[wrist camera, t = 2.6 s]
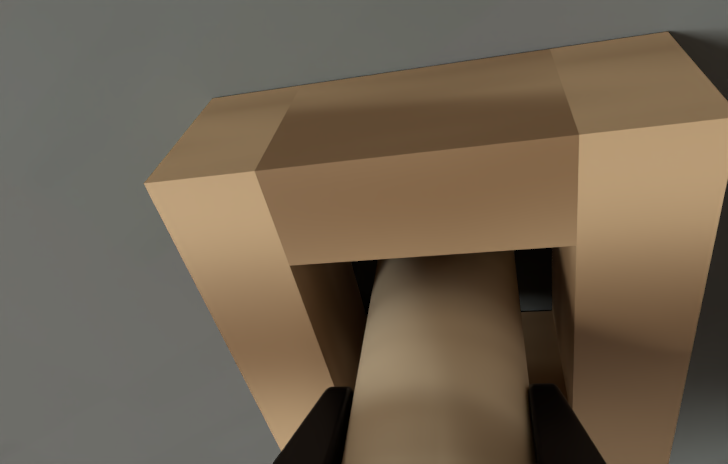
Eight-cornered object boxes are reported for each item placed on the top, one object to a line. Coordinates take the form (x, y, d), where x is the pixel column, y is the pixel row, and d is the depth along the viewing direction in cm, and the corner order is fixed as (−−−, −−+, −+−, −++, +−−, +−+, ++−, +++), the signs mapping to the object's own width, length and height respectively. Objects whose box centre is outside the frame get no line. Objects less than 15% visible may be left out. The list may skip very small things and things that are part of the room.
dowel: (515, 286, 13) (599, 1070, 5) (393, 293, 13) (299, 996, 6) (509, 182, 11) (621, 1112, 3) (370, 196, 12) (191, 1001, 4)
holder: (630, 359, 14) (665, 477, 11) (316, 367, 15) (291, 469, 13) (668, 32, 9) (740, 116, 7) (212, 98, 11) (143, 183, 8)
